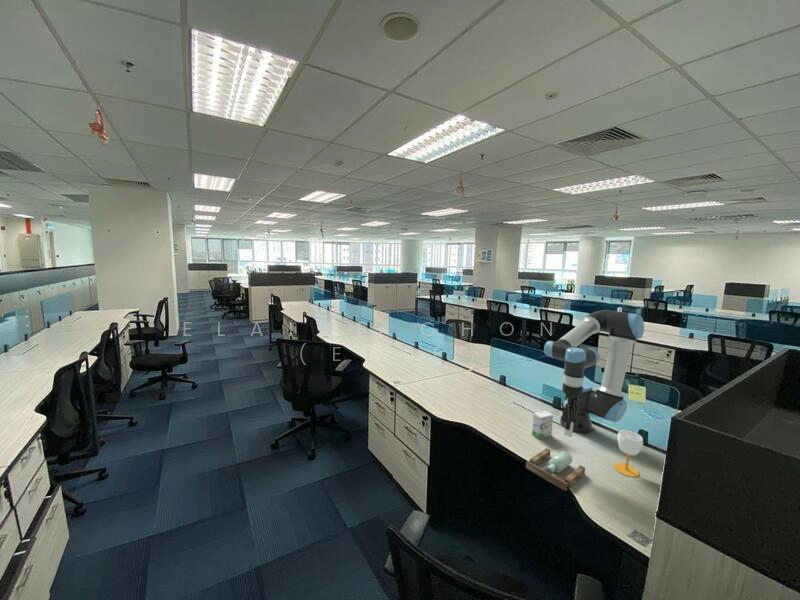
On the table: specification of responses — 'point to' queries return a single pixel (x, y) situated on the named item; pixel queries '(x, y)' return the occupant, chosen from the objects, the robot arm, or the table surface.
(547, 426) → the ink box
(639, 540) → the table surface
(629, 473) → the cup
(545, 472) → the u rest
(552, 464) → the bottle
